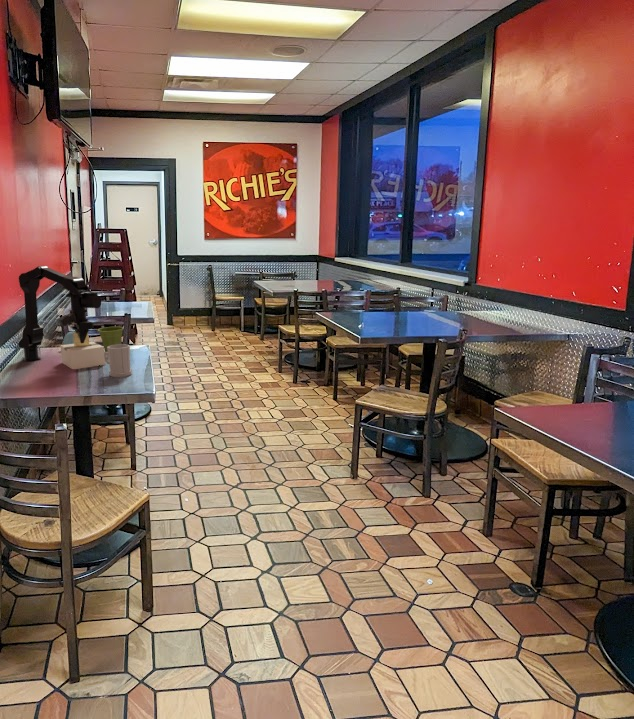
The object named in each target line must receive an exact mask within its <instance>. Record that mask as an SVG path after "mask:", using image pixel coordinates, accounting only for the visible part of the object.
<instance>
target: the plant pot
mask: <svg viewBox="0 0 634 719" xmlns="http://www.w3.org/2000/svg"><path fill="white" fill-rule="evenodd" d="M123 330H124V327H122V326H107V327H100V328H98V329H97V332H98V333H99V335H100V338H101V341H102V346H103V347H104V353H105V352H108V350H107V347H108V346H111V345H118V344H122V336H123Z"/></svg>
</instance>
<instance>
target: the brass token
mask: <svg viewBox="0 0 634 719" xmlns="http://www.w3.org/2000/svg"><path fill="white" fill-rule="evenodd" d="M72 332H73V331H72ZM73 341H74V346H75V347H78V346H86V345H89V342H90V337H89V332H88V333H87V336H86V338H85V341H84V343H81V341H80V337H79V333H78V332H75V331H74V332H73Z"/></svg>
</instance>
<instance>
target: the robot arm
mask: <svg viewBox="0 0 634 719" xmlns="http://www.w3.org/2000/svg"><path fill="white" fill-rule="evenodd" d="M44 278H45V279H48V280H50V281H52V282H55V283H57V284H58V285H61V286H62V287H63V289H65V290H66V291H68V293H67V294H66V295H65V297H66V298H70V307H71V309H70V310H69V313H68V314H65V315H63V316H61V317H59V318H58V319H57V320H58V322H59V324H60V326H62V327H66V326H70V325H71V326H70V328H71V329H73V331H74V332H78V333H79V337H80V341H81V343H84V341H85V338H86V336H87V333H88V334H89V330H92V329H94V323H93V322H91V321H89V320H88V318H87V313H88V310H87V309H100V307H101V305H102V299H101V297H100V296H99V294H98V292H97V291H95V292H92V290H91V289H90V288H89V286H88V284H86V280H84V279H83V277H77V276H70V275H66V274H64V273H62V272H59V271H58V270H54V269H52V268H50V267H48V266H47V265H41V266H40V265H39V266H37V267H35V268H33V269H31V270H28V271H27V272H22V273H20V275H19V276H18V283H19V286H20V287H19V288H20V289H21V290H22V292H23V294H24V295H23V296H24V297H23V298H24V311H25V325H24V327H23V330H22V337H21V339H20V340H19V342H17V344H18V347H19V349H23V353H24V357H22V360H23V361H25V362H33V361H40V360H42V359H41V357H40V356H39V352H38V351H39V350H38V346H41V345H42V341H43V339H44V337H45V334H44V327H41V326H40V325H39V318H38V316H39V315H38V302H37V300H38V298H37V292H38V290H39V287H40V283H41V282H40V281H41V280H43V279H44Z"/></svg>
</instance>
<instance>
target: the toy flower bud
mask: <svg viewBox="0 0 634 719" xmlns="http://www.w3.org/2000/svg"><path fill="white" fill-rule="evenodd" d="M73 332H75V330H73V331H69V332H67V333H66V334H65V335H64V337H63V345H67V344H74V341H73Z"/></svg>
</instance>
